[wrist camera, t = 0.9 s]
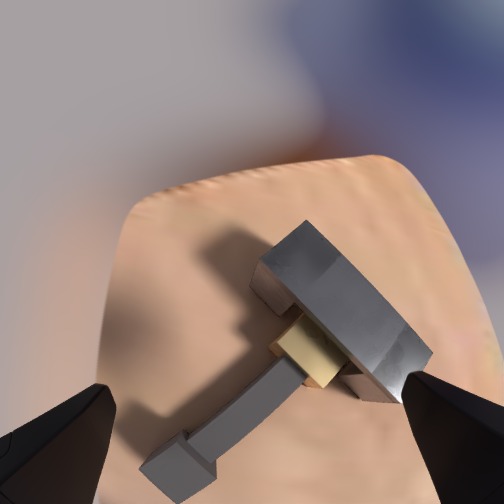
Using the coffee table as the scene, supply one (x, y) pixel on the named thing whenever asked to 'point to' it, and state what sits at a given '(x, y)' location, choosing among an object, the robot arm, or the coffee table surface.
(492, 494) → the robot arm
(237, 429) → the stepped grey block
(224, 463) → the coffee table surface
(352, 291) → the curved dark grey plate
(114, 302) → the coffee table surface
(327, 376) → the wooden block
